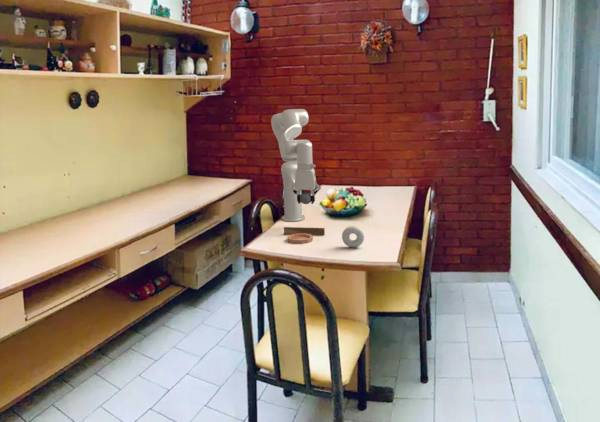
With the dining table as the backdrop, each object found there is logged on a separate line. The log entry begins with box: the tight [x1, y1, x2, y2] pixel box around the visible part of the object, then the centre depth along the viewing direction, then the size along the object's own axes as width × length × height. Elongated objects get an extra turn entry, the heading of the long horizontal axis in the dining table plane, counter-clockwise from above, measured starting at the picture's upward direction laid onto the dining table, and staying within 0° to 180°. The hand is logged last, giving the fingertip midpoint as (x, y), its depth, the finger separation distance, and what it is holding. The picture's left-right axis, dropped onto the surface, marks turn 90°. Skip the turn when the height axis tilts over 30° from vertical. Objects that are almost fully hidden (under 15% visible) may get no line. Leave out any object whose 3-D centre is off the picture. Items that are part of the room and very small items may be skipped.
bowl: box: [287, 233, 314, 245], centre depth 263 cm, size 12×12×2 cm
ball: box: [300, 191, 312, 205], centre depth 275 cm, size 6×6×6 cm
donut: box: [341, 225, 365, 248], centre depth 249 cm, size 10×3×10 cm, turn 76°
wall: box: [283, 226, 326, 237], centre depth 273 cm, size 1×20×4 cm, turn 79°
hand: (306, 202), depth 276 cm, fingers closed on ball, 5 cm apart
